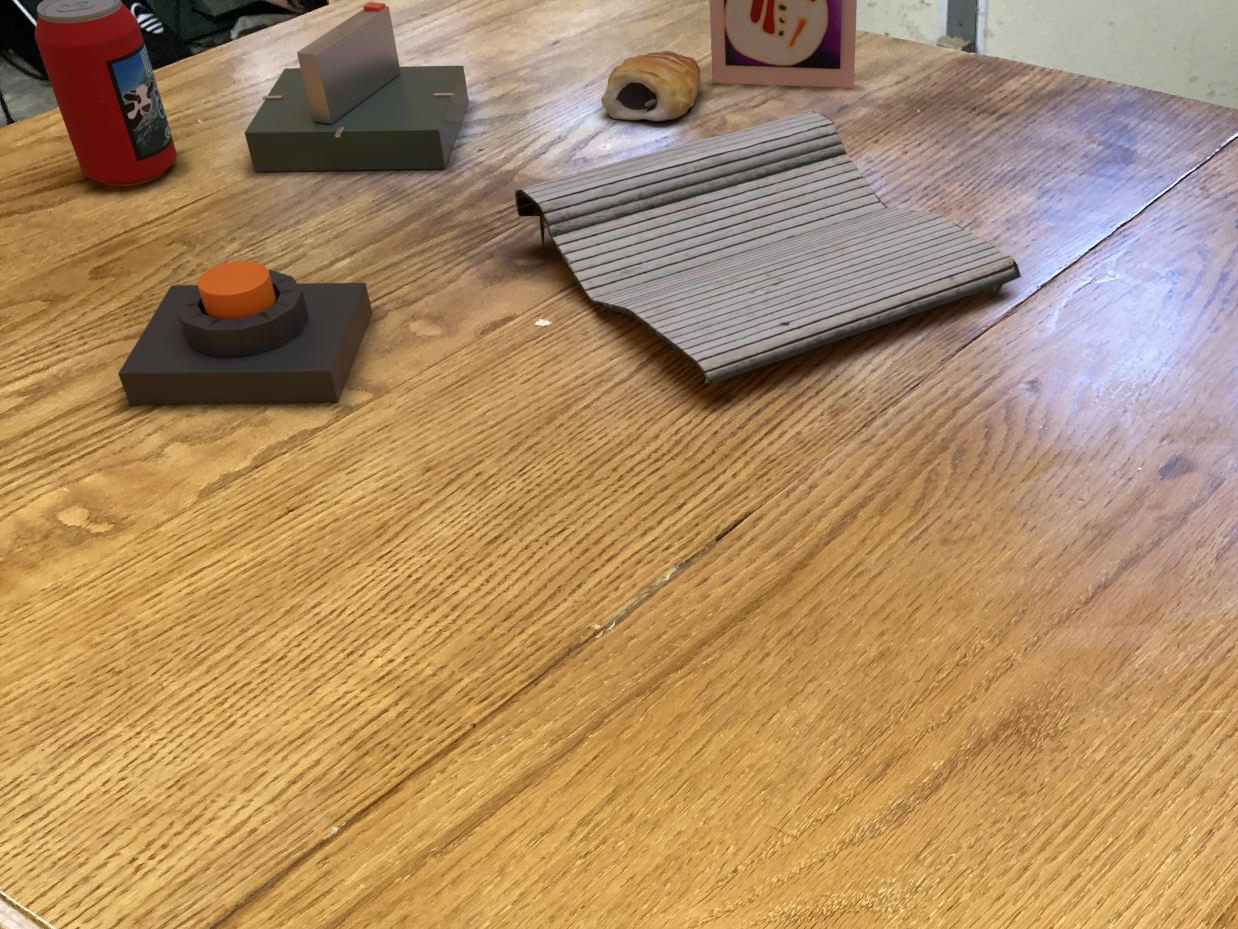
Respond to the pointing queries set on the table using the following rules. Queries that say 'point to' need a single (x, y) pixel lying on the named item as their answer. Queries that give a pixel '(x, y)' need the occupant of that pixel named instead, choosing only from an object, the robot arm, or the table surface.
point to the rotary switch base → (362, 125)
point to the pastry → (652, 87)
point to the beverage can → (105, 90)
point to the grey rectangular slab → (349, 63)
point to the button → (236, 290)
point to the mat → (755, 245)
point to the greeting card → (783, 42)
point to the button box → (250, 348)
